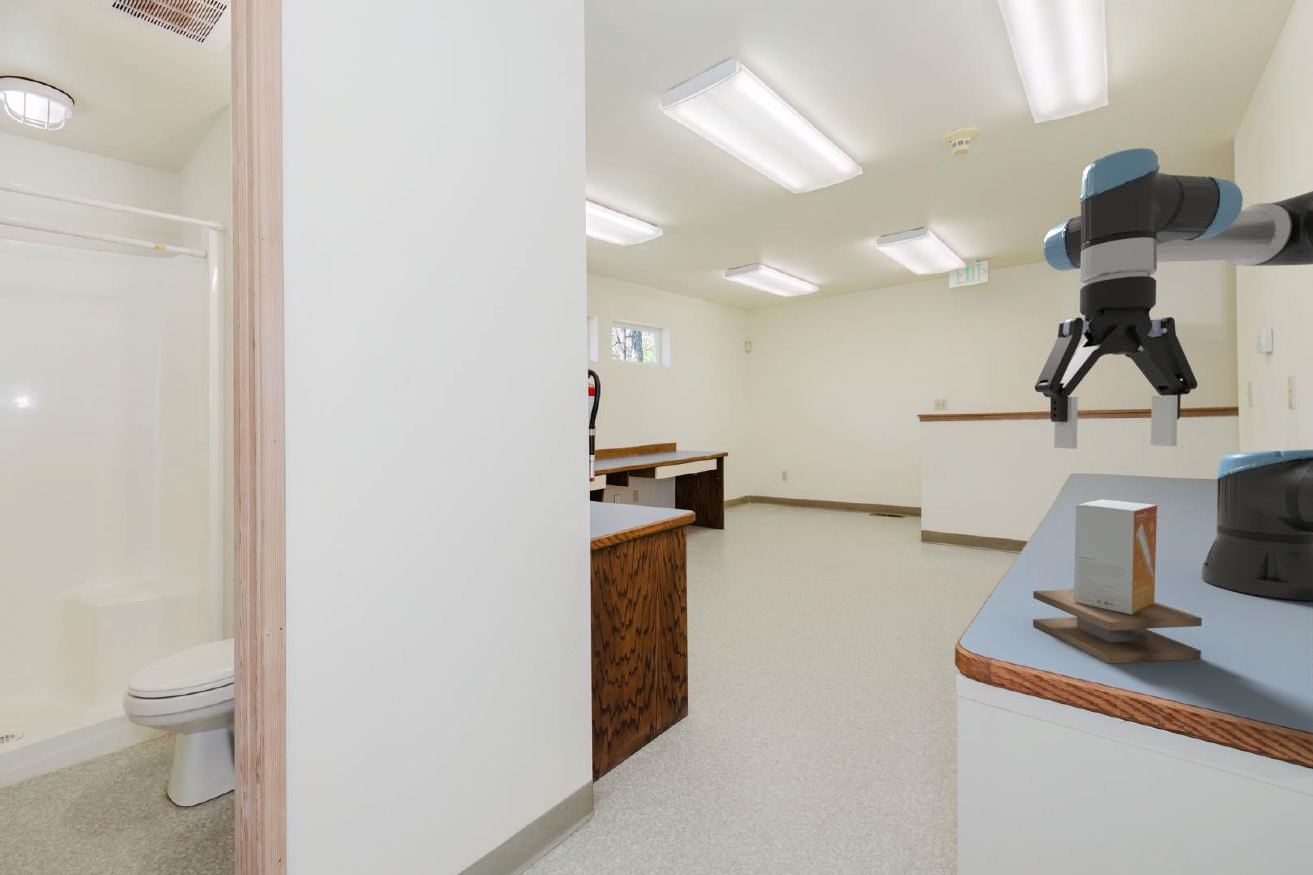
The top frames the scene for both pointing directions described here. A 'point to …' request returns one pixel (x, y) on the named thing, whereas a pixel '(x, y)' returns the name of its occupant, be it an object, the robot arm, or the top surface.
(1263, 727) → the top surface
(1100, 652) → the stand
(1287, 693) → the top surface
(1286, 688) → the top surface
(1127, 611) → the small box
